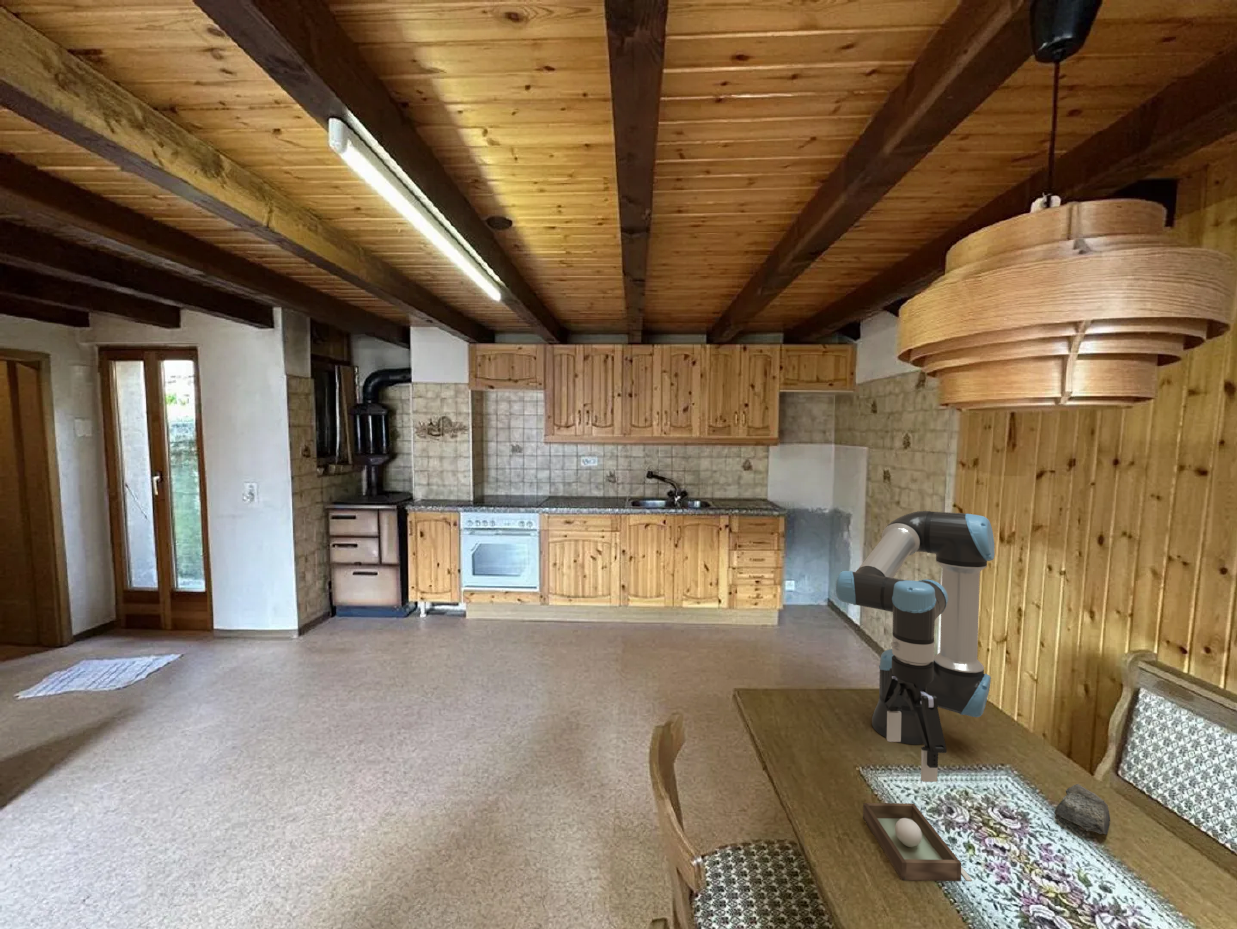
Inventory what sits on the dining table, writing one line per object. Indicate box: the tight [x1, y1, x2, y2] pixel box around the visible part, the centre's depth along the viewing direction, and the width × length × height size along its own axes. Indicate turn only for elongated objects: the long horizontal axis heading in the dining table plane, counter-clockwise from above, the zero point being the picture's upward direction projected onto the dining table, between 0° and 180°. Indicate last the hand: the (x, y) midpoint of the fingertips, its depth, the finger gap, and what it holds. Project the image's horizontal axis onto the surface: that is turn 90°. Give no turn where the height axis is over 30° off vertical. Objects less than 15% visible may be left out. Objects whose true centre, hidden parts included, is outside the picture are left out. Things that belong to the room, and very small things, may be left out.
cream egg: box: [895, 818, 922, 847], centre depth 110 cm, size 5×5×5 cm
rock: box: [1054, 783, 1111, 836], centre depth 117 cm, size 13×9×6 cm, turn 131°
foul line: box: [961, 866, 973, 882], centre depth 110 cm, size 1×17×1 cm, turn 179°
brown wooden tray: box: [862, 802, 962, 882], centre depth 110 cm, size 11×17×4 cm, turn 179°
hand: (910, 759), depth 109 cm, fingers open, 13 cm apart
